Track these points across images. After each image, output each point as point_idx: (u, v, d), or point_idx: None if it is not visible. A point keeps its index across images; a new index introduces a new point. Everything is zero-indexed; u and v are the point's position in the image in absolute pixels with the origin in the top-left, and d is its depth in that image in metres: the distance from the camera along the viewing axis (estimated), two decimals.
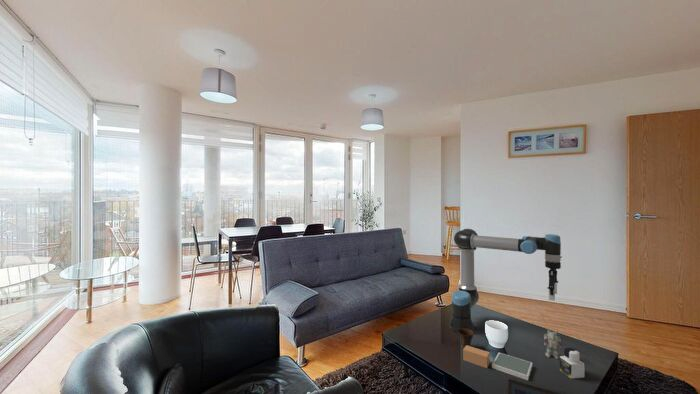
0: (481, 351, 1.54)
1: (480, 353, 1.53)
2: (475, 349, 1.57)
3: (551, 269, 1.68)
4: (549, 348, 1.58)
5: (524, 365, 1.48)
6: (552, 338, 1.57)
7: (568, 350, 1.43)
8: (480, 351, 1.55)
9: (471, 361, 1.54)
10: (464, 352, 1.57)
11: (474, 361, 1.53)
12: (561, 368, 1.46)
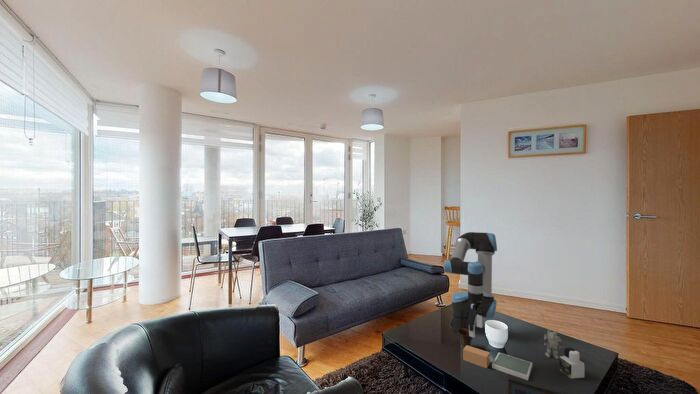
0: (481, 351, 1.54)
1: (480, 353, 1.53)
2: (475, 349, 1.57)
3: (472, 301, 1.52)
4: (549, 348, 1.58)
5: (524, 365, 1.48)
6: (552, 338, 1.57)
7: (568, 350, 1.43)
8: (480, 351, 1.55)
9: (471, 361, 1.54)
10: (464, 352, 1.57)
11: (474, 361, 1.53)
12: (561, 368, 1.46)
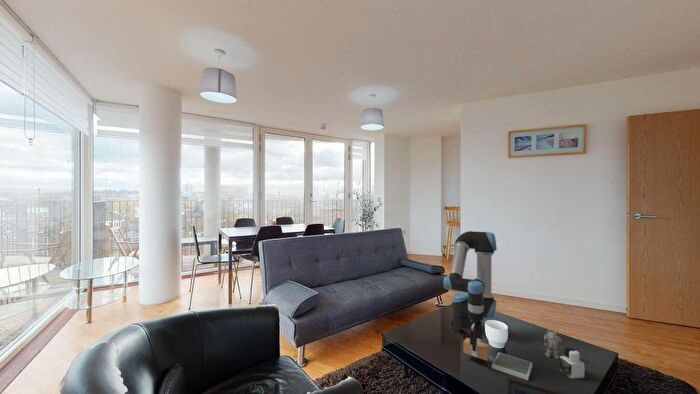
0: (481, 344, 1.55)
1: (480, 345, 1.53)
2: None
3: (473, 321, 1.52)
4: (549, 348, 1.58)
5: (524, 365, 1.48)
6: (552, 338, 1.57)
7: (568, 350, 1.43)
8: (480, 343, 1.55)
9: (471, 353, 1.55)
10: (464, 344, 1.57)
11: None
12: (561, 368, 1.46)
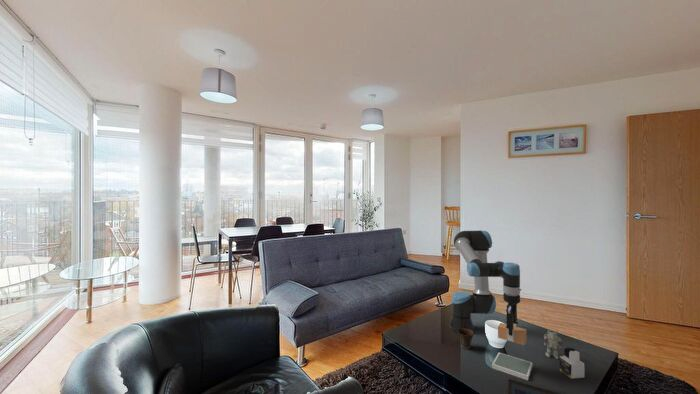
0: (517, 328, 1.48)
1: (516, 330, 1.47)
2: None
3: (509, 304, 1.47)
4: (549, 348, 1.58)
5: (524, 365, 1.48)
6: (552, 338, 1.57)
7: (568, 350, 1.43)
8: (516, 328, 1.49)
9: (507, 338, 1.49)
10: (499, 329, 1.51)
11: None
12: (561, 368, 1.46)
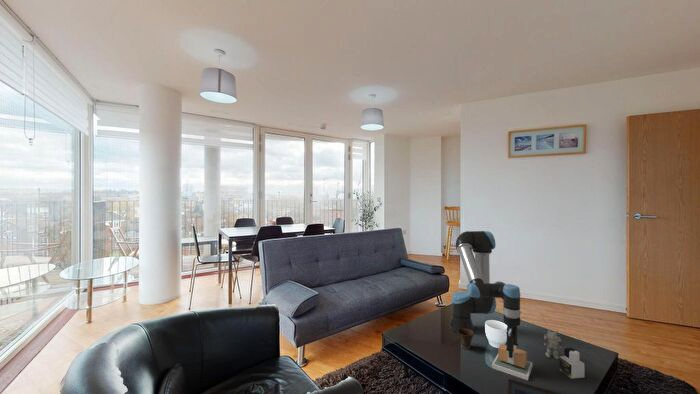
0: (518, 351, 1.48)
1: (517, 352, 1.47)
2: None
3: (509, 326, 1.47)
4: (549, 348, 1.58)
5: None
6: (552, 338, 1.57)
7: (568, 350, 1.43)
8: (516, 350, 1.49)
9: (507, 360, 1.49)
10: (499, 351, 1.51)
11: None
12: (561, 368, 1.46)
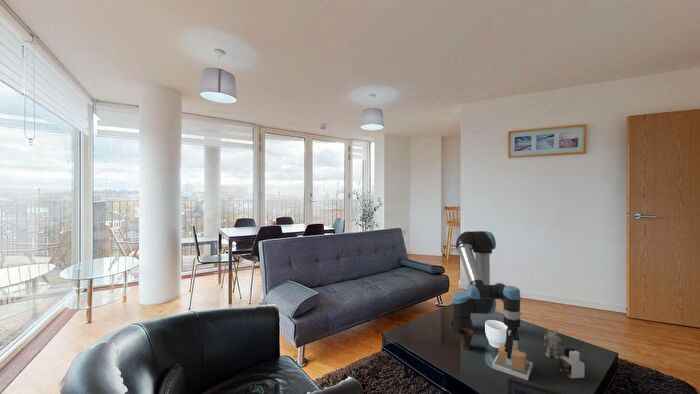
0: (517, 352, 1.49)
1: (517, 354, 1.47)
2: None
3: (509, 328, 1.47)
4: (549, 348, 1.58)
5: None
6: (552, 338, 1.57)
7: (568, 350, 1.43)
8: (516, 351, 1.49)
9: None
10: (499, 353, 1.51)
11: None
12: (561, 368, 1.46)
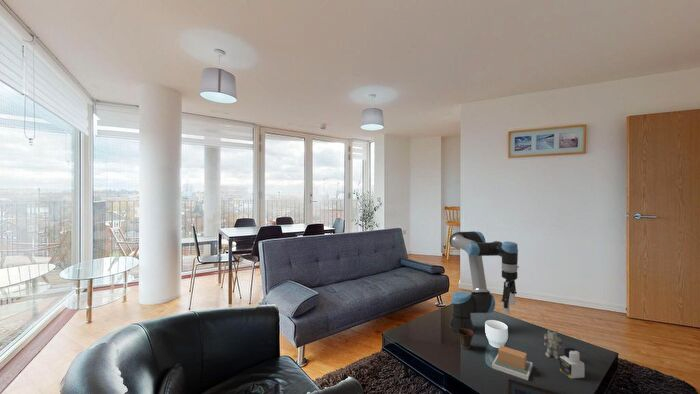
0: (517, 352, 1.49)
1: (517, 354, 1.47)
2: (511, 350, 1.51)
3: (507, 280, 1.54)
4: (549, 348, 1.58)
5: None
6: (552, 338, 1.57)
7: (568, 350, 1.43)
8: (516, 351, 1.49)
9: (507, 362, 1.49)
10: (499, 353, 1.51)
11: (510, 362, 1.48)
12: (561, 368, 1.46)
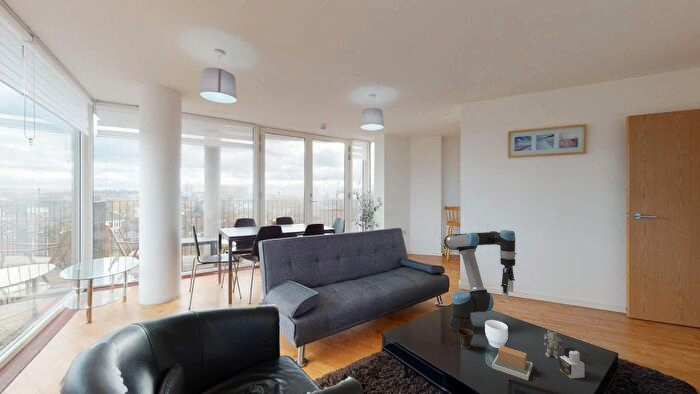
0: (517, 352, 1.49)
1: (517, 354, 1.47)
2: (511, 350, 1.51)
3: (505, 266, 1.63)
4: (549, 348, 1.58)
5: None
6: (552, 338, 1.57)
7: (568, 350, 1.43)
8: (516, 351, 1.49)
9: (507, 362, 1.49)
10: (499, 353, 1.51)
11: (510, 362, 1.48)
12: (561, 368, 1.46)
